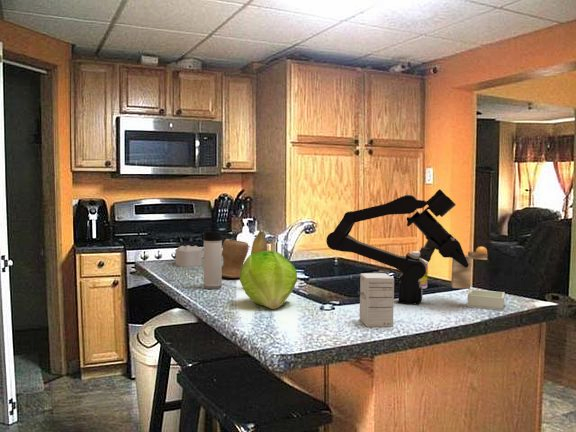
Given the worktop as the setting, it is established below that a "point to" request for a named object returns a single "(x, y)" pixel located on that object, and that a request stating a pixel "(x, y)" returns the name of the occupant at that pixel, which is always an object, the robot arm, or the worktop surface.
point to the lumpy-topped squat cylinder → (188, 256)
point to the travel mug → (212, 260)
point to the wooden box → (464, 271)
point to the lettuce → (268, 278)
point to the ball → (481, 250)
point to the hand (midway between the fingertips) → (466, 265)
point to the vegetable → (259, 243)
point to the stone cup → (233, 257)
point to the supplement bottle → (424, 278)
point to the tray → (486, 299)
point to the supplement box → (376, 299)
